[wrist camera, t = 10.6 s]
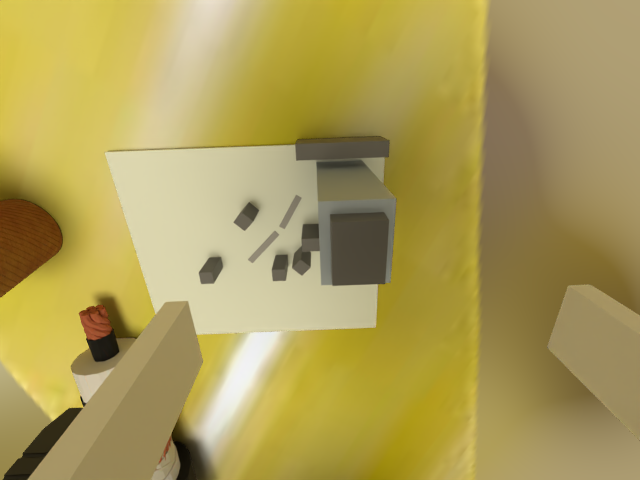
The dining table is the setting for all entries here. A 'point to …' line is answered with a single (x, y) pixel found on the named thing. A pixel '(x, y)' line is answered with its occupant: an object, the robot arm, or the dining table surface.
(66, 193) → the dining table surface
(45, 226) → the disposable coffee cup
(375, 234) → the block
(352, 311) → the routing panel
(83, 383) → the cable
